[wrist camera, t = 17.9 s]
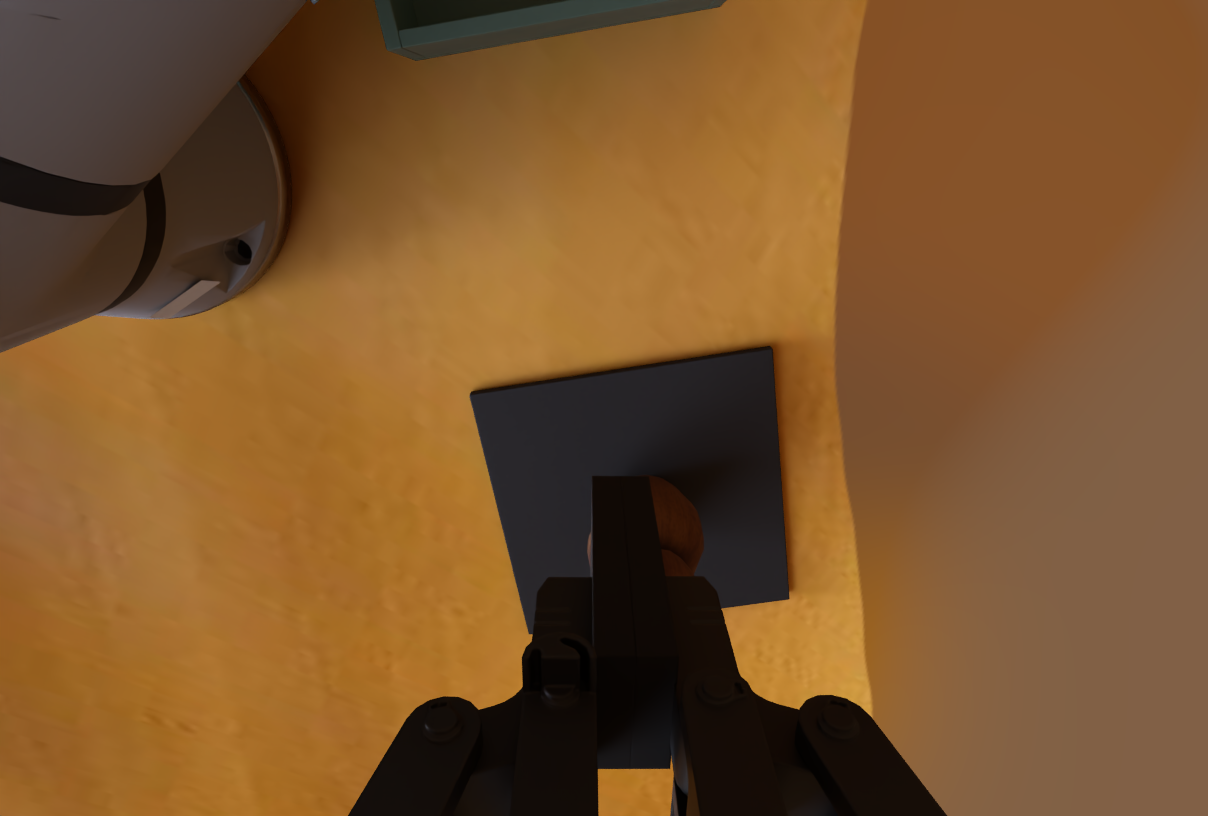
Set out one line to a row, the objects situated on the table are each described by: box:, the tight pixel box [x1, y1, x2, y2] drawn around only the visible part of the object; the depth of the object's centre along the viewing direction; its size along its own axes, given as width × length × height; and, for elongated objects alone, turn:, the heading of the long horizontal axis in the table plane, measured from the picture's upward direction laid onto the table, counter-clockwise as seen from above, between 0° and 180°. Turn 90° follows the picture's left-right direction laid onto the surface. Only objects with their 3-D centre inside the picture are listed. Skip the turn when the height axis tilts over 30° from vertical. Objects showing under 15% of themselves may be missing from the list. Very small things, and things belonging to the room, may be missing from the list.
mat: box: [470, 346, 789, 634], centre depth 44 cm, size 18×18×1 cm
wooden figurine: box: [587, 475, 704, 576], centre depth 37 cm, size 7×6×15 cm
